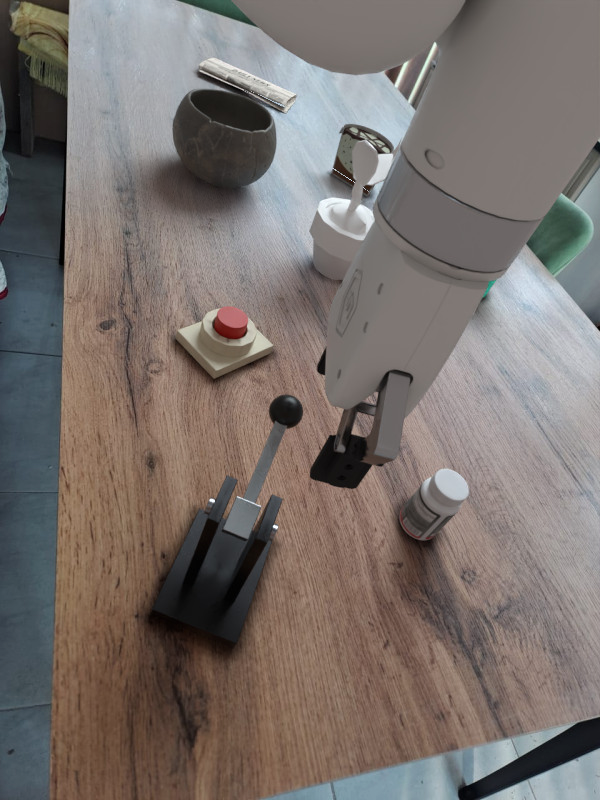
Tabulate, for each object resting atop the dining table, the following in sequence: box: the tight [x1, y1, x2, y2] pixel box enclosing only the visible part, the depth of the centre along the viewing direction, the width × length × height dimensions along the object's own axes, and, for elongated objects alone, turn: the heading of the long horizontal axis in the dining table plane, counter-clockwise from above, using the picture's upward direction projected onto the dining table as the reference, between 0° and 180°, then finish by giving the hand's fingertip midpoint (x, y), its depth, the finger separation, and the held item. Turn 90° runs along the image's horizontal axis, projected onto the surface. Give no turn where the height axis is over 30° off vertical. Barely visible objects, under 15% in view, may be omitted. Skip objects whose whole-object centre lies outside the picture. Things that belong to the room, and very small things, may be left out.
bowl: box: [172, 88, 278, 189], centre depth 99 cm, size 18×18×13 cm
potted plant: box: [308, 139, 402, 281], centre depth 87 cm, size 13×12×25 cm
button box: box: [175, 307, 274, 380], centre depth 74 cm, size 10×8×4 cm
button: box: [214, 305, 249, 339], centre depth 72 cm, size 4×4×2 cm
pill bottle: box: [398, 468, 470, 541], centre depth 63 cm, size 5×5×8 cm
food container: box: [331, 123, 395, 197], centre depth 117 cm, size 12×6×10 cm, turn 56°
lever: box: [222, 394, 304, 541], centre depth 48 cm, size 13×3×3 cm, turn 164°
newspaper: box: [198, 57, 298, 114], centre depth 135 cm, size 23×12×2 cm, turn 73°
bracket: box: [150, 475, 284, 649], centre depth 49 cm, size 11×8×13 cm
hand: (333, 423), depth 40 cm, fingers open, 9 cm apart
